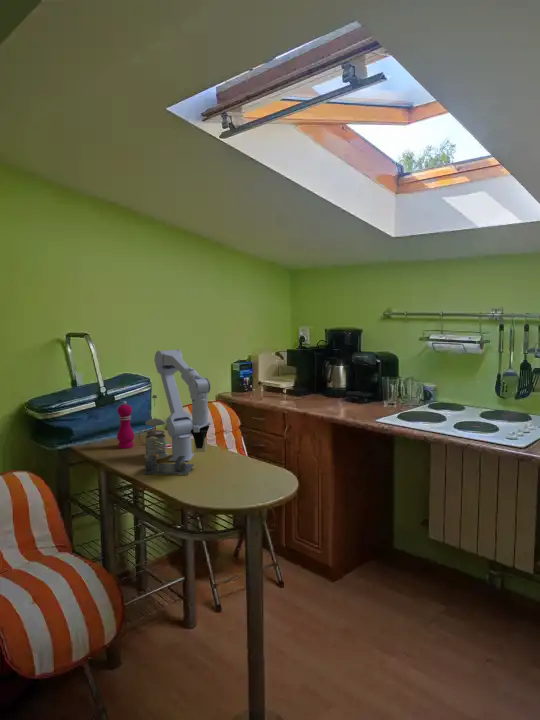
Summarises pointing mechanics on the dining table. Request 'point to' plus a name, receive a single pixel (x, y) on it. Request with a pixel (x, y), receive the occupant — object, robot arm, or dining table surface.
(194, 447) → the brass block
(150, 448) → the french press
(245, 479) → the dining table surface
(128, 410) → the pepper mill
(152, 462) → the sliding jaw
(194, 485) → the dining table surface
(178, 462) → the vise
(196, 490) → the dining table surface
